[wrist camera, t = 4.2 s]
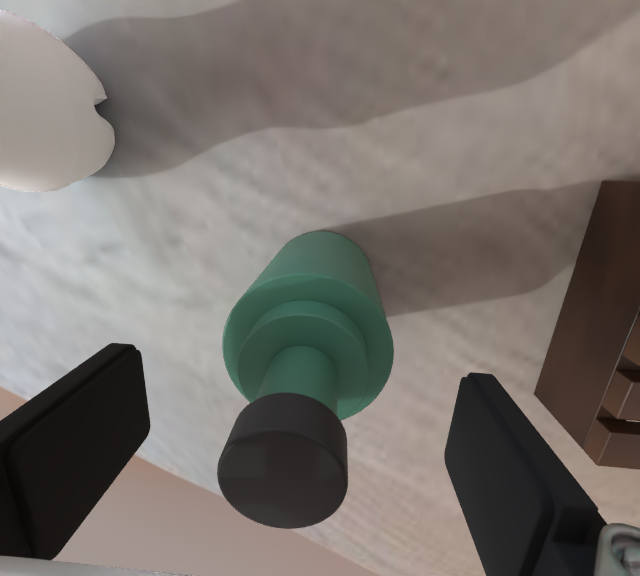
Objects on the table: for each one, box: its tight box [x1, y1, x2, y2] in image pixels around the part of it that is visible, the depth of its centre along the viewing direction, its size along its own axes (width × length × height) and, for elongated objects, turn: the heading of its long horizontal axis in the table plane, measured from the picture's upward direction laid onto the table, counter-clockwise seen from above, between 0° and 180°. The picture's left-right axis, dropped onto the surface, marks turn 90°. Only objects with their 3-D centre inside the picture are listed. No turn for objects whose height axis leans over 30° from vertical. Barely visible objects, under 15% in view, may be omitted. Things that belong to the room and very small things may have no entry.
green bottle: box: [217, 231, 394, 529], centre depth 13 cm, size 6×6×14 cm
